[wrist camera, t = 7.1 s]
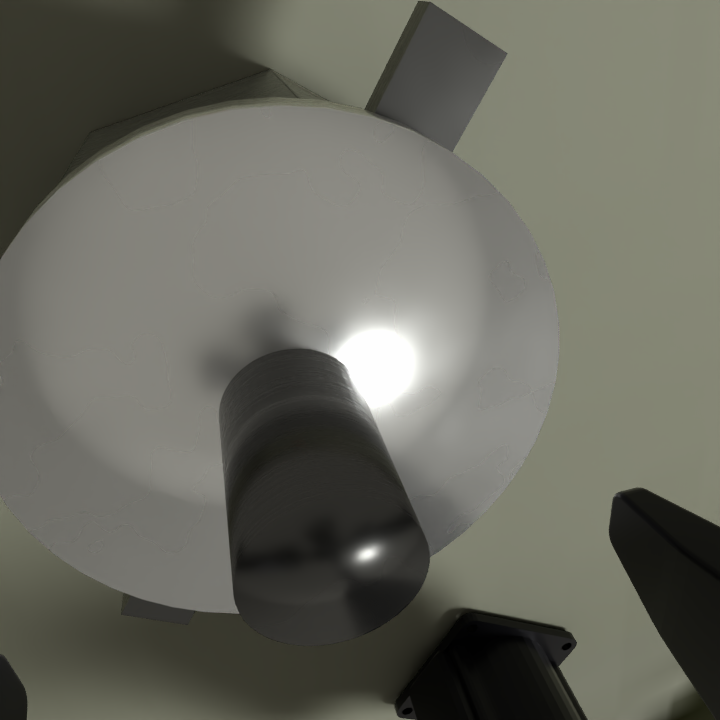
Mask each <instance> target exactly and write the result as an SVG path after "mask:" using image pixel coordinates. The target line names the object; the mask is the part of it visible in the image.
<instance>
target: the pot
mask: <svg viewBox="0 0 720 720" xmlns="http://www.w3.org/2000/svg"><path fill="white" fill-rule="evenodd" d="M506 55H507V53H506V52H504V51H503V50H501V49H500V48H498V47H497V46H495V45H494V44H492V43H491V42H489V41H488V40H486V39H485V38H483V37H482V36H480V35H479V34H477V33H476V32H475V31H473V30H472V29H470V28H469V27H467V26H466V25H464V24H463V23H461V22H460V21H458V20H457V19H455V18H454V17H452V16H451V15H449V14H448V13H446V12H445V11H443V10H442V9H440V8H439V7H437V6H436V5H434V4H433V3H431V2H425V1H418V3H417V5H416V7H415V9H414V11H413V13H412V15H411V17H410V19H409V21H408V23H407V25H406V27H405V29H404V31H403V33H402V35H401V37H400V39H399V41H398V43H397V45H396V47H395V49H394V51H393V53H392V55H391V57H390V59H389V61H388V63H387V65H386V67H385V69H384V71H383V73H382V75H381V77H380V79H379V81H378V83H377V85H376V87H375V89H374V91H373V93H372V95H371V97H370V99H369V101H368V103H367V105H366V107H365V109H364V110H367V111H370V112H373V113H375V114H378V115H381V116H384V117H387V118H389V119H392V120H395V121H398V122H400V123H402V124H404V125H406V126H408V127H410V128H411V129H413V130H415V131H417V132H419V133H421V134H423V135H424V136H426V137H428V138H430V139H432V140H434V141H435V142H437V143H439V144H440V145H442V146H443V147H445V148H446V149H448V150H449V151H451V152H453V150H454V148H455V146H456V145H457V143H458V141H459V139H460V137H461V136H462V134H463V132H464V130H465V129H466V127H467V125H468V123H469V121H470V120H471V118H472V116H473V114H474V112H475V111H476V109H477V107H478V105H479V104H480V102H481V100H482V98H483V96H484V95H485V93H486V91H487V89H488V87H489V86H490V84H491V82H492V80H493V79H494V77H495V75H496V73H497V71H498V70H499V68H500V66H501V64H502V62H503V61H504V59H505V57H506ZM269 97H283V98H299V99H316V100H323V101H328V100H326V99H324V98H322V97H321V96H319V95H317V94H315V93H313V92H311V91H310V90H308V89H306V88H304V87H302V86H301V85H299V84H297V83H295V82H293V81H291V80H290V79H288V78H286V77H284V76H282V75H280V74H279V73H277V72H275V71H273V70H272V69H270V70H267V71H264V72H261V73H259V74H256V75H253V76H250V77H247V78H244V79H241V80H239V81H236V82H233V83H230V84H227V85H224V86H221V87H219V88H216V89H213V90H210V91H207V92H204V93H202V94H199V95H196V96H193V97H190V98H187V99H184V100H182V101H179V102H176V103H173V104H170V105H167V106H164V107H162V108H159V109H156V110H153V111H150V112H147V113H144V114H142V115H139V116H136V117H133V118H130V119H127V120H124V121H122V122H119V123H116V124H113V125H110V126H107V127H104V128H102V129H99V130H96V131H93V132H90V133H89V135H88V137H87V138H86V140H85V142H84V143H83V145H82V147H81V148H80V150H79V152H78V153H77V155H76V156H75V158H74V160H73V161H72V163H71V165H70V166H69V168H68V170H67V171H66V173H65V175H64V176H63V178H62V179H61V181H62V180H63V179H64V178H65V177H66V176H67V175H68V174H69V173H71V172H72V171H73V170H75V169H76V168H77V167H79V166H80V165H81V164H83V163H84V162H85V161H86V160H88V159H89V158H90V157H92V156H93V155H94V154H96V153H97V152H98V151H100V150H101V149H102V148H104V147H106V146H108V145H110V144H111V143H113V142H115V141H117V140H119V139H121V138H122V137H124V136H126V135H128V134H130V133H132V132H133V131H135V130H137V129H139V128H141V127H143V126H145V125H148V124H151V123H153V122H156V121H159V120H161V119H164V118H167V117H169V116H172V115H175V114H177V113H180V112H183V111H185V110H190V109H194V108H199V107H203V106H208V105H212V104H217V103H221V102H226V101H231V100H244V99H256V98H269ZM328 102H330V101H328ZM61 181H60V182H61ZM194 612H195V610H188V609H182V608H175V607H170V606H166V605H162V604H159V603H155V602H151V601H147V600H143V599H140V598H137V597H134V596H132V595H129V594H126V593H123V602H122V612H121V615H127V616H134V617H140V618H146V619H153V620H159V621H166V622H172V623H179V624H185V625H188V623H189V621H190V620H191V618H192V616H193V614H194Z"/></svg>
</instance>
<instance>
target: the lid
mask: <svg viewBox="0 0 720 720" xmlns="http://www.w3.org/2000/svg"><path fill="white" fill-rule="evenodd" d="M558 359H559V319H558V313H557V306H556V300H555V293H554V289H553V286H552V283H551V280H550V277H549V273H548V270H547V267H546V264H545V261H544V259H543V257H542V255H541V253H540V251H539V249H538V247H537V245H536V243H535V241H534V239H533V237H532V235H531V233H530V231H529V229H528V228H527V226H526V225H525V223H524V222H523V221H522V219H521V218H520V216H519V215H518V214H517V212H516V211H515V209H514V208H513V207H512V205H511V204H510V202H509V201H508V200H507V199H506V198H505V197H504V196H503V195H502V194H501V193H500V192H499V191H498V190H497V189H496V188H495V187H494V186H493V185H492V184H491V183H490V182H489V181H488V180H487V179H486V178H485V177H484V176H483V175H482V174H481V173H479V172H478V171H477V170H475V169H474V168H473V167H471V166H470V165H469V164H467V163H466V162H465V161H463V160H462V159H461V158H459V157H458V156H457V155H455V154H454V153H452V152H451V151H449V150H448V149H446V148H445V147H443V146H442V145H440V144H439V143H437V142H435V141H434V140H432V139H430V138H428V137H426V136H424V135H423V134H421V133H419V132H417V131H415V130H413V129H411V128H410V127H408V126H406V125H404V124H402V123H400V122H398V121H395V120H392V119H389V118H387V117H384V116H381V115H378V114H375V113H373V112H370V111H367V110H364V109H362V108H357V107H352V106H347V105H343V104H338V103H333V102H328V101H323V100H316V99H299V98H283V97H269V98H256V99H244V100H231V101H226V102H221V103H217V104H212V105H208V106H203V107H199V108H194V109H190V110H185V111H183V112H180V113H177V114H175V115H172V116H169V117H167V118H164V119H161V120H159V121H156V122H153V123H151V124H148V125H145V126H143V127H141V128H139V129H137V130H135V131H133V132H132V133H130V134H128V135H126V136H124V137H122V138H121V139H119V140H117V141H115V142H113V143H111V144H110V145H108V146H106V147H104V148H102V149H101V150H100V151H98V152H97V153H96V154H94V155H93V156H92V157H90V158H89V159H88V160H86V161H85V162H84V163H83V164H81V165H80V166H79V167H77V168H76V169H75V170H73V171H72V172H71V173H69V174H68V175H67V176H66V177H65V178H64V179H63V180H62V181H61V182H60V183H59V184H58V185H57V186H56V187H55V188H54V189H53V190H52V191H51V192H50V193H49V194H48V195H47V196H46V197H45V198H44V199H43V200H42V201H41V202H40V203H39V205H38V206H37V207H36V208H35V209H34V211H33V212H32V214H31V215H30V217H29V218H28V219H27V221H26V222H25V224H24V225H23V226H22V228H21V229H20V231H19V232H18V234H17V235H16V236H15V238H14V239H13V241H12V242H11V244H10V245H9V247H8V248H7V250H6V251H5V253H4V254H3V256H2V257H1V259H0V496H1V497H2V499H3V501H4V502H5V504H6V505H7V507H8V508H9V509H10V511H11V512H12V513H13V514H14V515H15V516H16V518H17V519H18V520H19V521H20V522H21V523H22V525H23V526H24V527H25V528H26V529H27V530H28V531H29V533H30V534H32V535H33V536H34V537H35V538H36V539H37V540H38V541H40V542H41V543H42V544H43V545H44V546H45V547H46V548H47V549H49V550H50V551H51V552H52V553H53V554H54V555H56V556H57V557H59V558H60V559H62V560H63V561H65V562H66V563H68V564H69V565H71V566H72V567H74V568H75V569H77V570H78V571H80V572H81V573H83V574H85V575H87V576H89V577H91V578H93V579H95V580H97V581H99V582H101V583H103V584H105V585H106V586H108V587H110V588H113V589H116V590H118V591H121V592H124V593H126V594H129V595H132V596H134V597H137V598H140V599H143V600H147V601H151V602H155V603H159V604H162V605H166V606H170V607H175V608H182V609H188V610H195V611H202V612H215V613H234V614H240V615H241V617H242V618H243V620H244V621H245V622H246V623H247V624H248V625H249V626H250V627H251V628H253V629H254V630H255V631H257V632H258V633H260V634H262V635H263V636H265V637H267V638H270V639H272V640H275V641H278V642H282V643H286V644H292V645H302V646H316V645H327V644H334V643H338V642H343V641H347V640H350V639H353V638H356V637H359V636H361V635H364V634H366V633H369V632H371V631H373V630H375V629H376V628H378V627H380V626H382V625H383V624H385V623H387V622H388V621H390V620H391V619H392V618H394V617H395V616H396V615H398V614H399V613H400V612H401V611H402V610H403V609H404V608H405V607H406V606H407V605H408V604H409V603H410V602H411V601H412V600H413V599H414V597H415V596H416V594H417V593H418V592H419V590H420V588H421V587H422V585H423V583H424V581H425V578H426V575H427V573H428V568H429V563H430V557H431V556H432V555H434V554H435V553H437V552H439V551H440V550H441V549H443V548H444V547H445V546H447V545H448V544H449V543H450V542H452V541H453V540H454V539H456V538H457V537H458V536H460V535H461V534H462V533H463V532H465V531H466V530H467V529H468V528H469V527H470V526H471V525H472V524H473V523H474V522H475V521H476V520H477V519H478V518H479V517H481V516H482V515H483V514H484V513H485V512H486V511H487V510H488V508H489V507H490V506H491V505H492V504H493V503H494V502H495V500H496V499H497V498H498V497H499V496H500V495H501V494H502V492H503V491H504V490H505V489H506V487H507V486H508V485H509V483H510V482H511V480H512V479H513V477H514V476H515V475H516V473H517V472H518V470H519V469H520V468H521V466H522V465H523V463H524V461H525V459H526V457H527V455H528V454H529V452H530V450H531V448H532V446H533V445H534V443H535V441H536V439H537V437H538V434H539V432H540V429H541V427H542V424H543V422H544V419H545V417H546V415H547V412H548V409H549V405H550V401H551V397H552V394H553V390H554V386H555V382H556V374H557V367H558Z"/></svg>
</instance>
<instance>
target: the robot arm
mask: <svg viewBox="0 0 720 720" xmlns="http://www.w3.org/2000/svg"><path fill="white" fill-rule="evenodd" d="M609 536H610V540H611V543H612V546H613V548H614V550H615V551H616V553H617V555H618V557H619V559H620V561H621V563H622V565H623V567H624V569H625V570H626V572H627V574H628V576H629V578H630V580H631V582H632V584H633V586H634V587H635V589H636V591H637V593H638V595H639V597H640V599H641V601H642V603H643V605H644V606H645V608H646V610H647V612H648V614H649V616H650V618H651V620H652V622H653V623H654V625H655V627H656V629H657V630H658V632H659V634H660V636H661V637H662V639H663V640H664V642H665V644H666V645H667V647H668V648H669V650H670V651H671V653H672V654H673V656H674V657H675V659H676V660H677V662H678V663H679V665H680V666H681V668H682V669H683V671H684V672H685V674H686V675H687V677H688V678H689V680H690V681H691V683H692V684H693V686H694V688H695V689H696V691H697V692H698V694H699V695H700V697H701V698H702V700H703V701H704V703H705V704H706V706H707V707H708V709H709V710H710V712H711V713H712V715H713V716H714V718H715V719H716V720H720V527H719V526H717V525H715V524H713V523H712V522H710V521H708V520H706V519H704V518H702V517H700V516H698V515H696V514H694V513H692V512H690V511H688V510H686V509H684V508H682V507H680V506H678V505H676V504H674V503H672V502H670V501H668V500H666V499H664V498H662V497H660V496H658V495H656V494H654V493H652V492H650V491H648V490H646V489H644V488H633V489H629V490H625V491H621V492H618V493H616V494H615V496H614V497H613V502H612V509H611V517H610V525H609ZM576 644H577V642H576V640H575V639H574V637H573V635H572V634H571V633H570V632H567V631H562V630H557V629H552V628H547V627H542V626H537V625H532V624H527V623H522V622H517V621H512V620H507V619H502V618H497V617H492V616H487V615H482V614H477V613H468V614H466V615H464V616H462V617H461V618H460V619H459V620H458V621H457V623H456V624H455V625H454V627H453V628H452V629H451V631H450V632H449V633H448V635H447V636H446V637H445V638H444V640H443V641H442V642H441V644H440V645H439V646H438V648H437V649H436V650H435V651H434V653H433V654H432V655H431V657H430V658H429V659H428V661H427V662H426V663H425V664H424V666H423V667H422V668H421V670H420V671H419V672H418V674H417V675H416V676H415V677H414V679H413V680H412V681H411V683H410V684H409V685H408V687H407V688H406V689H405V691H404V692H403V693H402V694H401V696H400V697H399V698H398V700H397V701H396V703H395V710H396V713H397V716H398V717H400V718H406V719H415V720H588V719H587V718H586V716H585V714H584V712H583V710H582V709H581V707H580V705H579V703H578V701H577V699H576V698H575V696H574V694H573V692H572V690H571V688H570V687H569V685H568V683H567V681H566V679H565V677H564V676H563V674H562V672H561V670H560V668H559V667H558V666H559V665H560V664H561V663H562V662H563V661H564V660H565V658H566V657H567V656H568V655H569V654H570V653H571V652H572V650H573V649H574V648H575V647H576ZM0 720H27V695H26V691H25V688H24V686H23V684H22V683H21V681H20V679H19V678H18V676H17V675H16V673H15V672H14V670H13V668H12V667H11V665H10V664H9V662H8V661H7V659H6V658H5V657H4V656H3V655H1V654H0Z"/></svg>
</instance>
